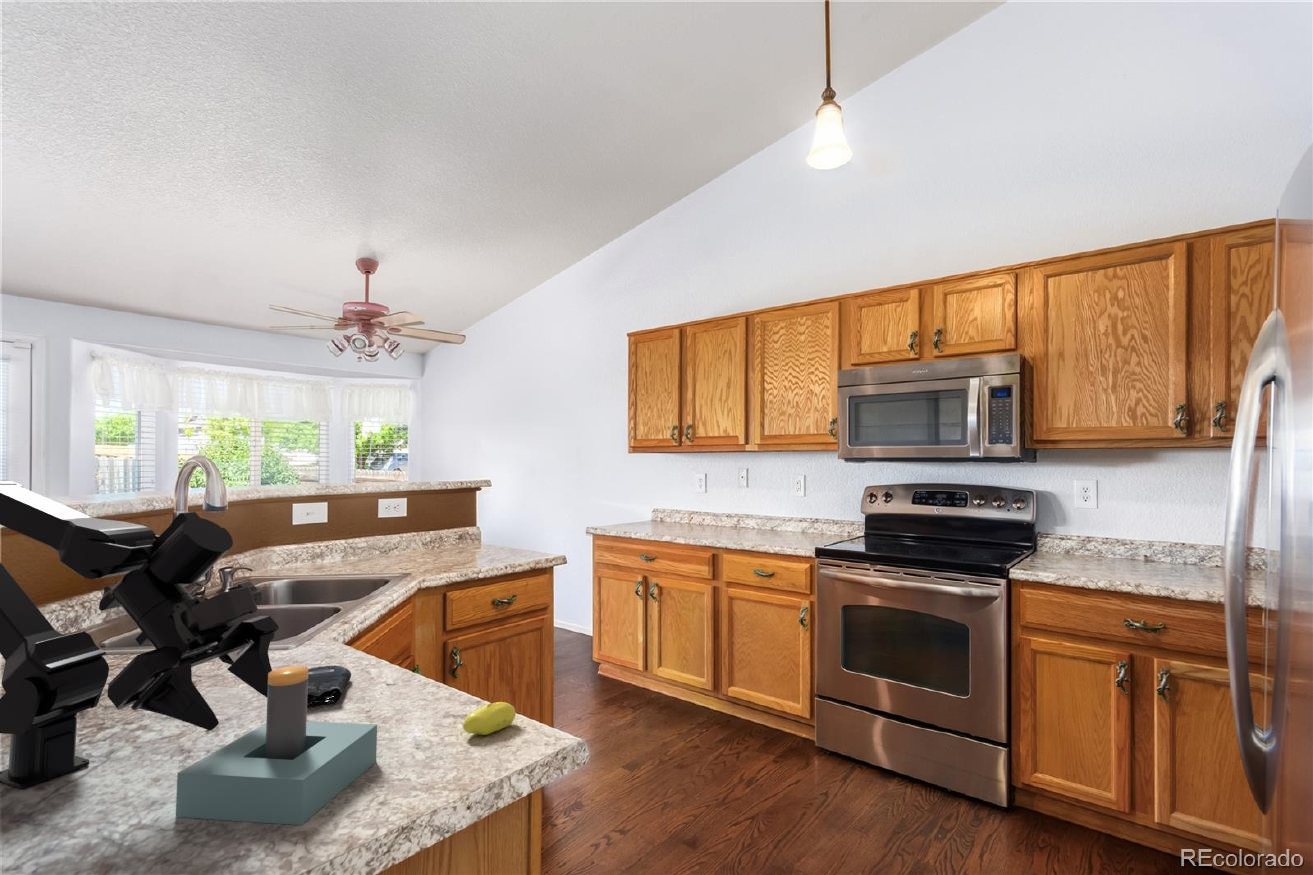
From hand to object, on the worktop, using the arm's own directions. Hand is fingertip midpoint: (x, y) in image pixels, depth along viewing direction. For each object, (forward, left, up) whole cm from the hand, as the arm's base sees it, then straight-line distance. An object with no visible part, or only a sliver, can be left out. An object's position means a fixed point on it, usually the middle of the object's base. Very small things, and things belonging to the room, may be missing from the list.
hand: (246, 710), depth 72 cm
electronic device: (-18, +25, -9) cm, 32 cm away
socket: (+5, +1, -8) cm, 10 cm away
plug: (+5, +1, -8) cm, 10 cm away
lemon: (+17, +23, -9) cm, 30 cm away
